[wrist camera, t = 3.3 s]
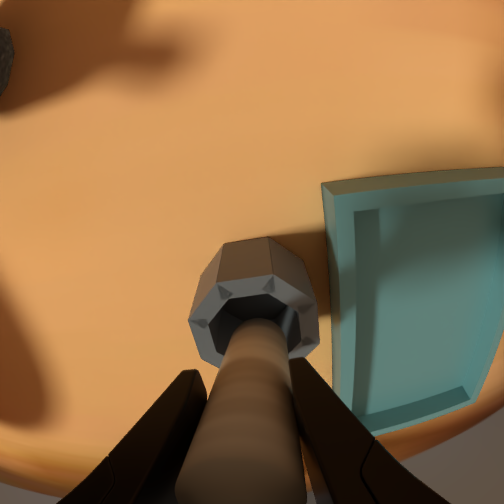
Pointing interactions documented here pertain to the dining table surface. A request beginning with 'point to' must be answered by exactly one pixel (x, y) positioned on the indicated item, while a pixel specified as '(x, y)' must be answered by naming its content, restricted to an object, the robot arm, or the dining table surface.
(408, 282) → the teal tray
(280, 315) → the grey cup
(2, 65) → the mortar and pestle
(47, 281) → the dining table surface
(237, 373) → the birch pin
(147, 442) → the robot arm
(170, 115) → the dining table surface
